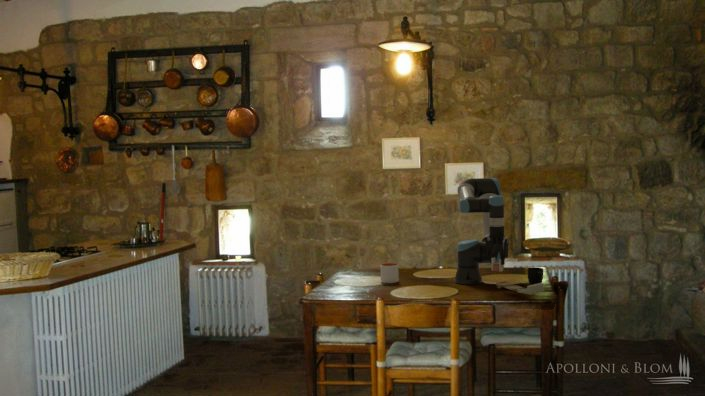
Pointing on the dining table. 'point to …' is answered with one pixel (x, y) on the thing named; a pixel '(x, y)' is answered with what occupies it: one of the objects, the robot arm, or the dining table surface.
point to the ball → (496, 267)
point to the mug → (535, 275)
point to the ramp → (509, 286)
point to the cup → (389, 273)
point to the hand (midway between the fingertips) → (497, 270)
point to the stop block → (532, 289)
